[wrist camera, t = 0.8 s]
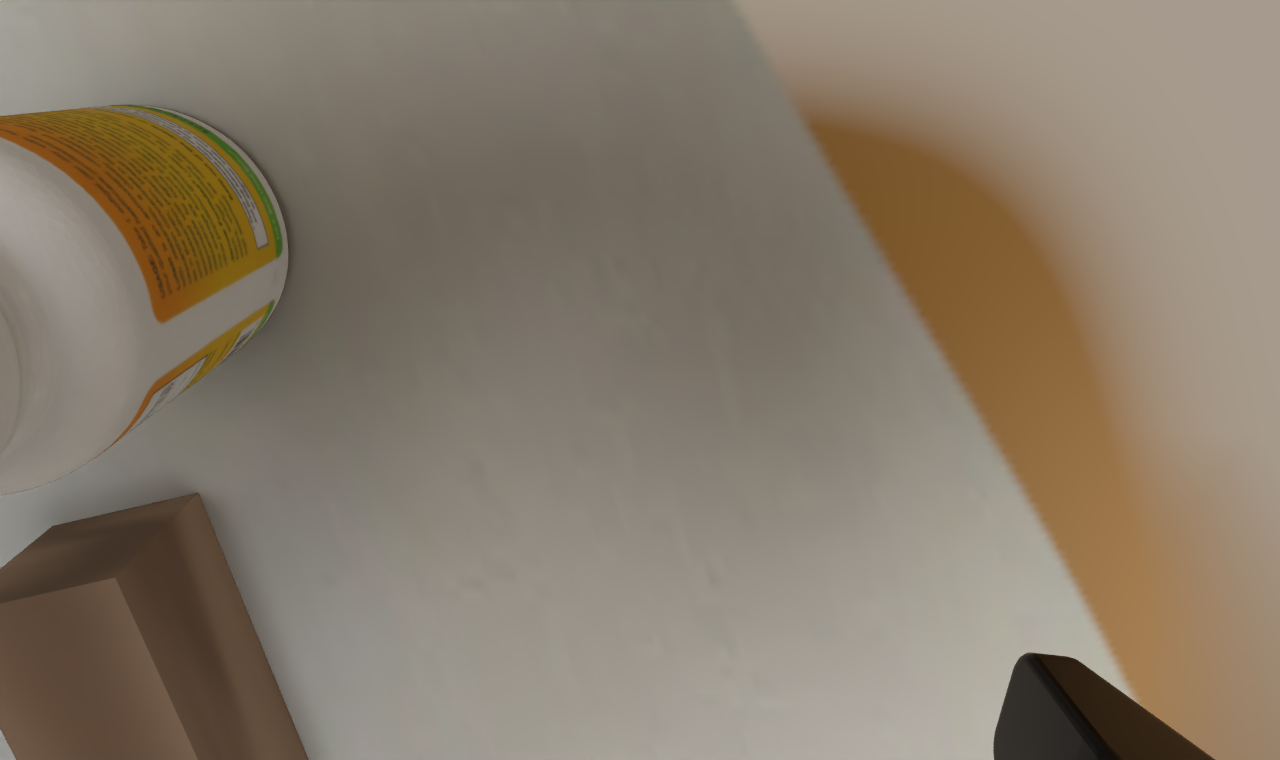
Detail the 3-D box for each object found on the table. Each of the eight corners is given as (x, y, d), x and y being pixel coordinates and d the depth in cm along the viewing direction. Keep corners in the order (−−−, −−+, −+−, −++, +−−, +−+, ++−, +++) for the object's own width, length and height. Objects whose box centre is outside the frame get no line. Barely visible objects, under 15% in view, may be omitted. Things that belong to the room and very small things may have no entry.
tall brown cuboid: (185, 799, 25) (107, 932, 21) (56, 522, 22) (-59, 616, 19) (317, 771, 25) (262, 900, 21) (201, 489, 22) (114, 577, 18)
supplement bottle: (40, 70, 19) (-499, 77, 10) (314, 143, 20) (43, 216, 10) (19, 326, 21) (-463, 539, 12) (273, 388, 21) (7, 638, 12)
